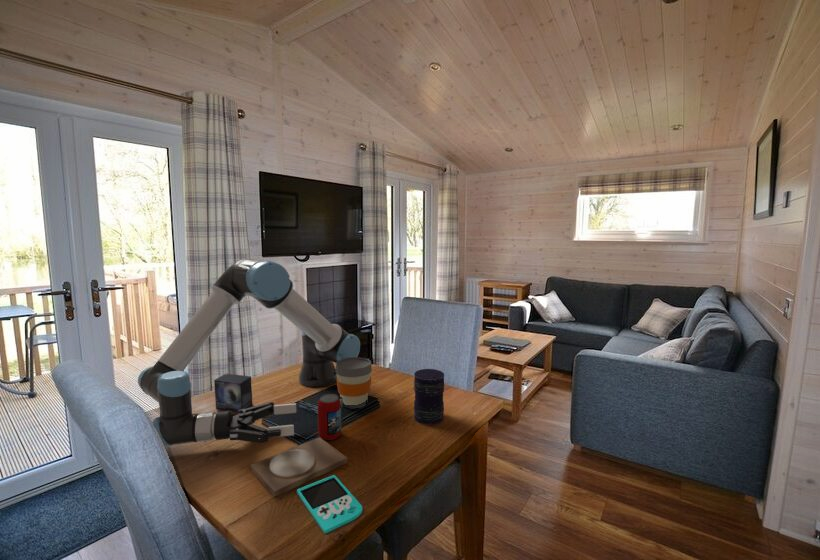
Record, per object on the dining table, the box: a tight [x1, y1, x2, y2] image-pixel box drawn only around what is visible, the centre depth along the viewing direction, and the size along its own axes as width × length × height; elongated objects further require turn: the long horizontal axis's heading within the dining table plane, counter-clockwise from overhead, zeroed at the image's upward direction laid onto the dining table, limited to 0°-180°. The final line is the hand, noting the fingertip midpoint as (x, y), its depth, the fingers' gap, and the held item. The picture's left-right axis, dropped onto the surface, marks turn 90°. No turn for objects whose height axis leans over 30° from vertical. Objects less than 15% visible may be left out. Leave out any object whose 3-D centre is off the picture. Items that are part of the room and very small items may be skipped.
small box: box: [213, 373, 253, 413], centre depth 137 cm, size 11×6×10 cm, turn 76°
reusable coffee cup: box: [335, 356, 373, 405], centre depth 139 cm, size 13×13×15 cm
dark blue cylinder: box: [413, 368, 445, 426], centre depth 129 cm, size 10×10×15 cm
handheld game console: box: [296, 474, 363, 534], centre depth 90 cm, size 10×16×1 cm, turn 36°
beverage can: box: [317, 393, 342, 441], centre depth 118 cm, size 7×7×12 cm
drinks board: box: [250, 436, 348, 498], centre depth 103 cm, size 20×14×2 cm
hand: (295, 418), depth 115 cm, fingers open, 13 cm apart
